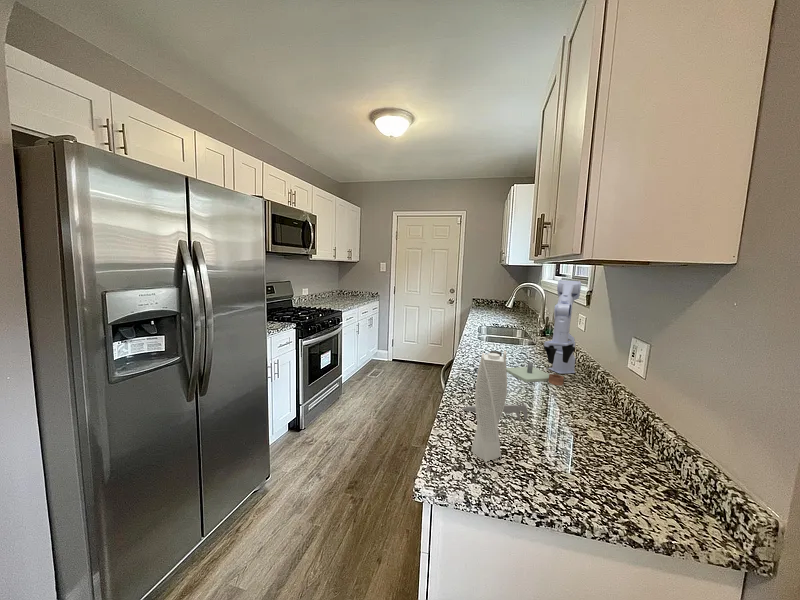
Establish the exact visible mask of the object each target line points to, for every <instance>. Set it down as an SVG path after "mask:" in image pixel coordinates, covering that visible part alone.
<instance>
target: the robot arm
mask: <svg viewBox="0 0 800 600" xmlns="http://www.w3.org/2000/svg"><path fill="white" fill-rule="evenodd" d="M581 288H582V281H581V280H568V279H567V280H566V279H558V282H557V288H556V290H557V297H558V299H557V304H555V305H554V311H553V314H554V319H553V320H554V323H553V324H554V325H553V333H552V339H551V340H547V341H544V343H543V349H544V350H545V354H546V357H547V363H549V364H551V365H552V367H548V368H547V369H548V370H550V371H552V372H555V373H557V374H558V375H562V374H563V375H565V374H575V373H576V371H575V366H576V365H575V364H576V357H575V355H574V353H575V352H574V351H575V350H576V341H575V337H574V336H573V335H572V334H570V328H571V321H572V314H573V305H574V302H575V301H577V300H579V298H580V296H581Z"/></svg>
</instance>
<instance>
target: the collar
mask: <svg viewBox="0 0 800 600" xmlns="http://www.w3.org/2000/svg"><path fill="white" fill-rule="evenodd" d="M549 374H550V373H549ZM564 379H565V376H563V375H562V374H556V373H551V374H550V375H549V381H548V383H549V384H551V385H553V386H564Z"/></svg>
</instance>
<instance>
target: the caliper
mask: <svg viewBox="0 0 800 600" xmlns="http://www.w3.org/2000/svg"><path fill="white" fill-rule="evenodd" d="M518 403H519V404H505V405H504V409H503V412H504V415H507V414H509V415H510V414H513V413H515V415H516V418H517V419H518V421H521V414H520V412H522V413H523V418H524V422H526V421H527V419H528V409H527V408H528V407H527V405H526V404H525V403H524V401H522V403H521V401H518ZM461 409H462V410H461V411H467V412H476V408H475V405H467V406H465V407H462V408H461Z"/></svg>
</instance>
